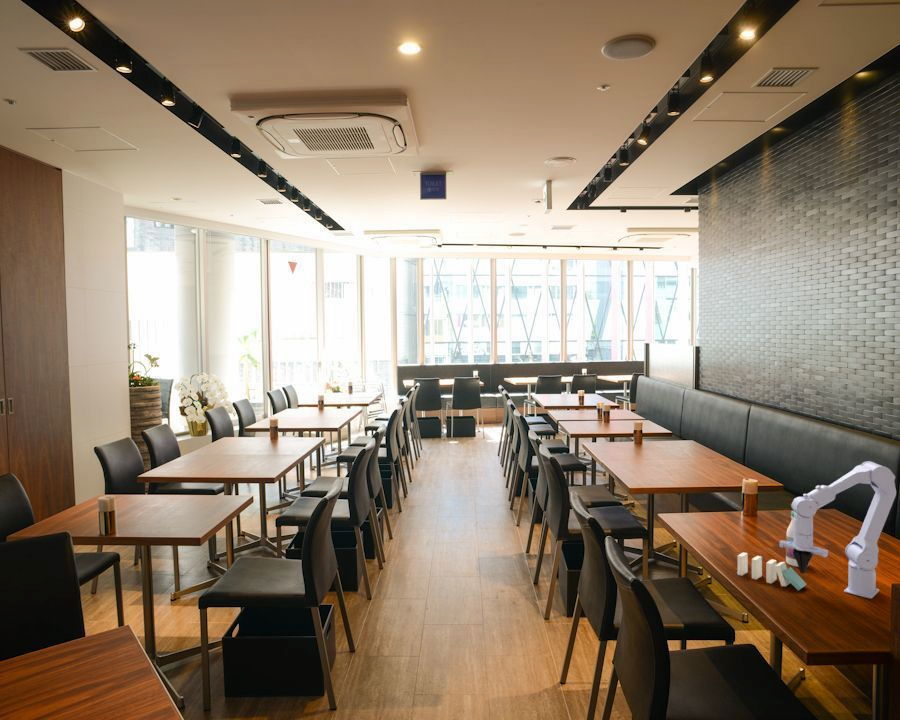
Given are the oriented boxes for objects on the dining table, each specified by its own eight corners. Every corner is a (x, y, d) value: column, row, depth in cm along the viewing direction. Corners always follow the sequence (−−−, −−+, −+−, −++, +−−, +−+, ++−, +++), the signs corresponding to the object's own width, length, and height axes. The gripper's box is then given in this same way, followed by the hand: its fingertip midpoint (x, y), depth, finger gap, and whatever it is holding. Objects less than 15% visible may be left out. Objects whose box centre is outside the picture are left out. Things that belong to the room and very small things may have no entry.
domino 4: (786, 582, 217) (780, 562, 219) (791, 582, 216) (785, 561, 217) (781, 586, 214) (775, 565, 215) (786, 586, 213) (779, 565, 214)
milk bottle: (805, 561, 237) (806, 510, 236) (811, 568, 230) (812, 515, 229) (783, 559, 239) (784, 508, 238) (788, 566, 232) (789, 514, 231)
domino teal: (803, 586, 213) (787, 569, 217) (806, 584, 212) (790, 566, 216) (798, 590, 210) (781, 573, 214) (801, 588, 209) (785, 570, 213)
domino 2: (757, 574, 225) (757, 555, 224) (761, 575, 223) (761, 556, 223) (751, 578, 221) (751, 559, 221) (756, 579, 220) (756, 560, 220)
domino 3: (771, 578, 221) (771, 559, 221) (776, 579, 220) (776, 560, 220) (766, 582, 218) (766, 562, 217) (771, 583, 216) (771, 563, 216)
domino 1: (743, 570, 228) (743, 552, 228) (747, 572, 227) (747, 553, 227) (737, 574, 225) (737, 555, 225) (741, 575, 224) (742, 556, 224)
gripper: (776, 530, 213) (775, 569, 214) (823, 540, 202) (822, 581, 203) (783, 526, 218) (783, 564, 218) (830, 535, 207) (829, 575, 208)
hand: (803, 572), depth 211 cm, fingers closed
